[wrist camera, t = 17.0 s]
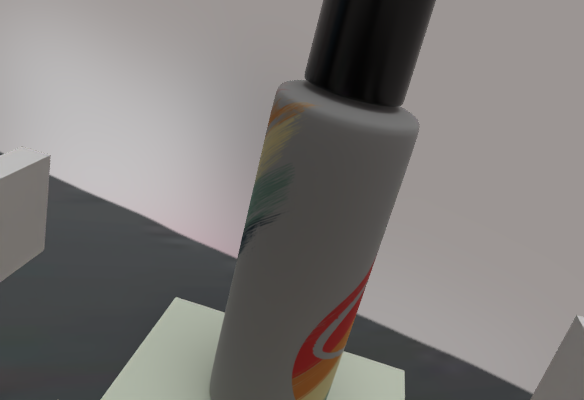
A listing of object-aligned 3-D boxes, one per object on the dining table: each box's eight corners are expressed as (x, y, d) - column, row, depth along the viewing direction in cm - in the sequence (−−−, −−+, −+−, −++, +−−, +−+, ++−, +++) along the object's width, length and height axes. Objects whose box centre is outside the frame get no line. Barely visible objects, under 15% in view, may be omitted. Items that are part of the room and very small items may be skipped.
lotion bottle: (342, 405, 27) (493, -6, 19) (269, 468, 23) (425, -30, 15) (261, 343, 30) (363, -37, 22) (182, 388, 26) (275, -65, 18)
